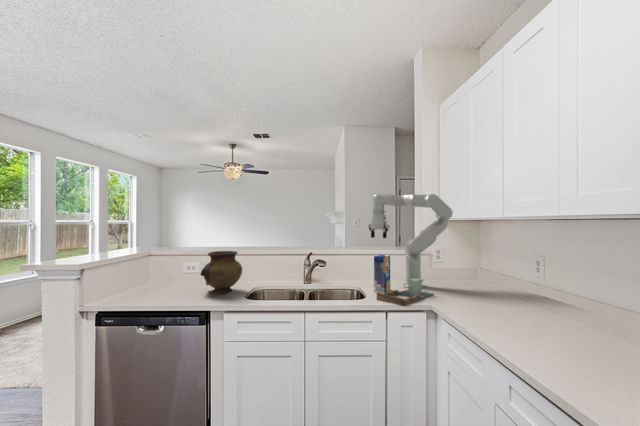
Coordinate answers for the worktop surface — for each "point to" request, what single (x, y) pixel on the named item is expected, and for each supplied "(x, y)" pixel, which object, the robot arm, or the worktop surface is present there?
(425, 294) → the mat
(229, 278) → the pot
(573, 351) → the worktop surface
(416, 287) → the block
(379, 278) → the beverage box
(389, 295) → the brown wooden frame
